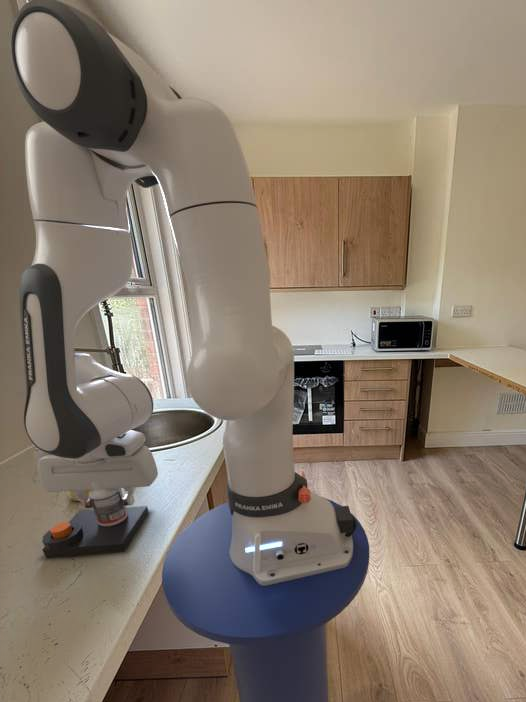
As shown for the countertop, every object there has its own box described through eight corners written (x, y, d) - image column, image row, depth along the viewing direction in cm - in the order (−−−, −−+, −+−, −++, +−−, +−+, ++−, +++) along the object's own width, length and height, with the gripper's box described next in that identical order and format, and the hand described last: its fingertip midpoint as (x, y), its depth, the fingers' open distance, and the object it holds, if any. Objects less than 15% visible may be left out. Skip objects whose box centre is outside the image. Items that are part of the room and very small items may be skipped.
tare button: (75, 528, 66) (73, 521, 66) (66, 538, 64) (63, 531, 63) (59, 529, 66) (56, 522, 66) (49, 539, 63) (46, 532, 63)
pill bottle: (101, 514, 72) (88, 473, 69) (130, 508, 74) (118, 468, 70) (95, 530, 68) (80, 486, 64) (126, 523, 69) (113, 481, 65)
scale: (149, 513, 76) (145, 499, 74) (123, 553, 64) (118, 538, 63) (80, 517, 75) (75, 504, 73) (41, 559, 63) (34, 544, 62)
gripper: (18, 453, 61) (45, 518, 66) (139, 446, 62) (155, 511, 67) (42, 438, 66) (65, 499, 72) (152, 433, 68) (166, 493, 73)
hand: (109, 505), depth 70 cm, fingers open, 6 cm apart
